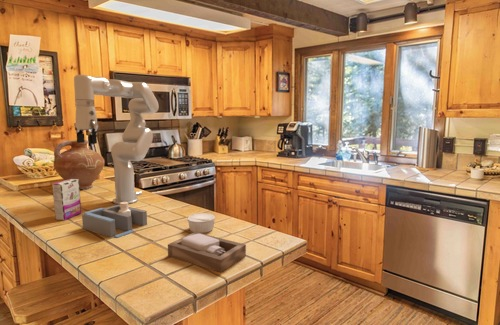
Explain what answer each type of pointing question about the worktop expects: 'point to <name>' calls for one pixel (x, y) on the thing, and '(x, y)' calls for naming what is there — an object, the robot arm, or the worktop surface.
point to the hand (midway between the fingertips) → (86, 143)
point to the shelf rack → (113, 220)
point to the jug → (78, 163)
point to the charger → (203, 244)
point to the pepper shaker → (124, 208)
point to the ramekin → (201, 222)
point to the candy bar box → (66, 199)
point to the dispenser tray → (209, 254)
